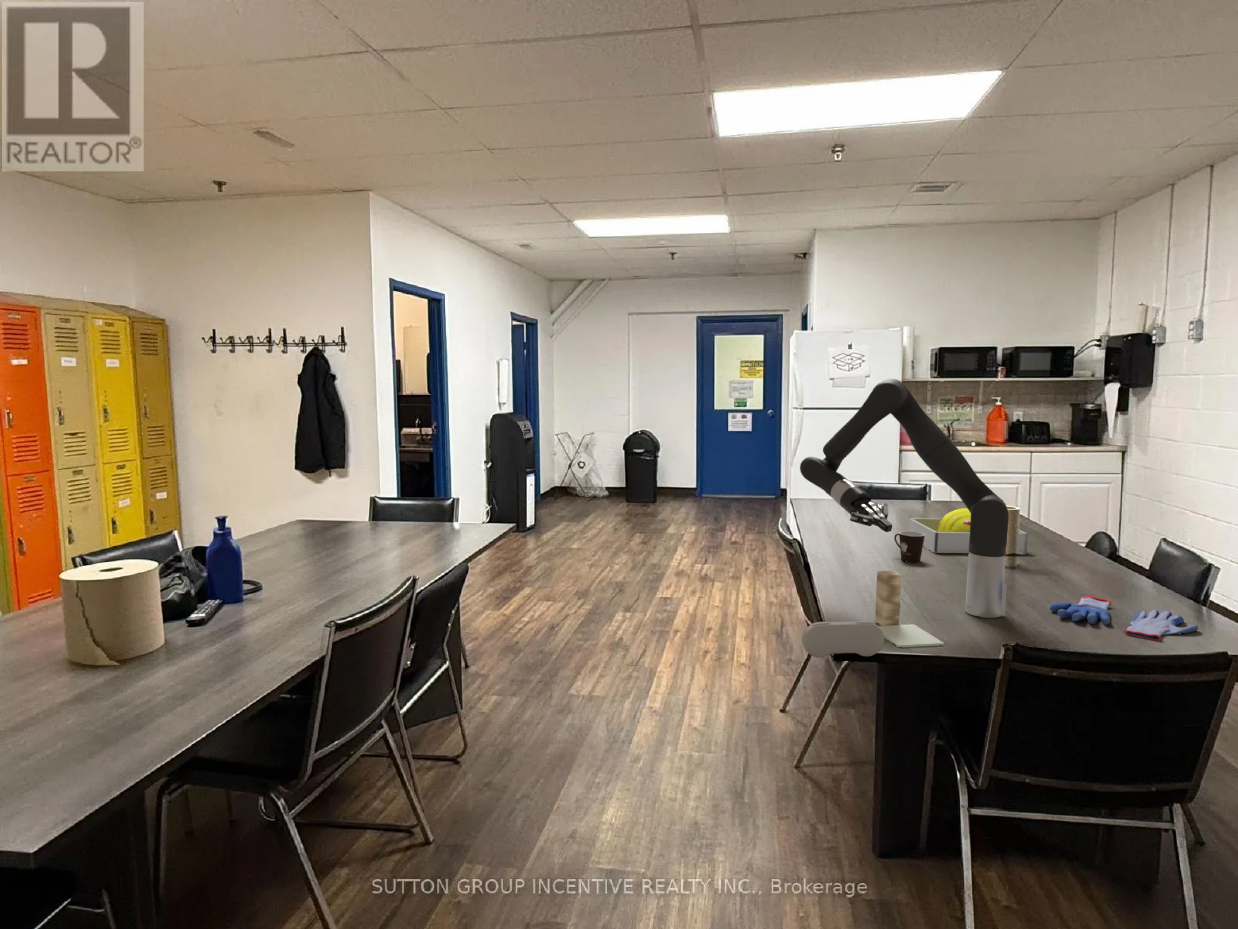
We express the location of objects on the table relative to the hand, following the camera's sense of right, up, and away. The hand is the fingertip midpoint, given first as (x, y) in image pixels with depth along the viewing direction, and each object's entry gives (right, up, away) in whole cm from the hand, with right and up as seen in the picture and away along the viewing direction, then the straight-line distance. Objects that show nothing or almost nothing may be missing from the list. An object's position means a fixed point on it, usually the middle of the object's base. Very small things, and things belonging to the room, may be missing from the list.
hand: (889, 529), depth 201 cm
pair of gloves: (+63, -26, 0) cm, 68 cm away
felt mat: (0, -26, -13) cm, 29 cm away
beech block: (-2, -25, -3) cm, 25 cm away
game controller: (-21, -28, -25) cm, 43 cm away
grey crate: (+62, -14, +90) cm, 110 cm away
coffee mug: (+31, -17, +67) cm, 76 cm away
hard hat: (+61, -15, +89) cm, 109 cm away
